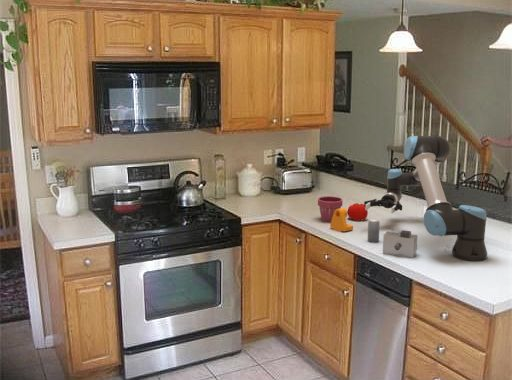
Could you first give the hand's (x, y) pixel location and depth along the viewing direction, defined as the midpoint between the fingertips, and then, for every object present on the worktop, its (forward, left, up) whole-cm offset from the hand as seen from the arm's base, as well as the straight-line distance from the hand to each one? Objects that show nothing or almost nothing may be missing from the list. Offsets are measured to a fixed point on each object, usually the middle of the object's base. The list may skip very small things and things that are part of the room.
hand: (379, 209), depth 274 cm
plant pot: (+37, -6, -15) cm, 40 cm away
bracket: (+20, +4, -15) cm, 25 cm away
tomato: (+27, -19, -15) cm, 36 cm away
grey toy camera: (-22, +13, -14) cm, 29 cm away
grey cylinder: (-4, +9, -14) cm, 17 cm away
